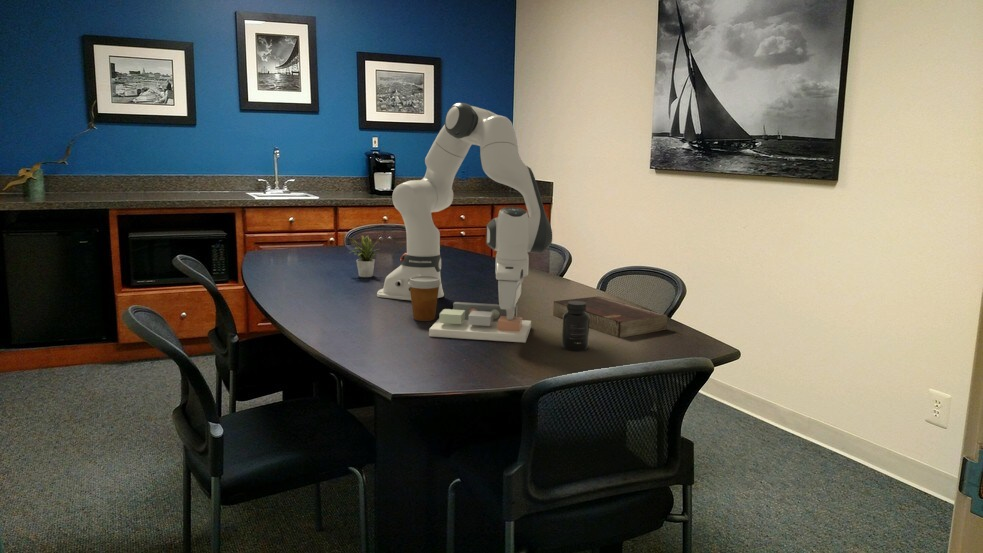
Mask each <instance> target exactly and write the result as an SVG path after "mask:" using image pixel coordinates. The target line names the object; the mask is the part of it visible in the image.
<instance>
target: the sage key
mask: <svg viewBox="0 0 983 553" xmlns="http://www.w3.org/2000/svg"><path fill="white" fill-rule="evenodd" d="M438 316H439V318H438V319H439V323H451V324H461V323H462V322H463V321H464V320H465V310H453V308H452V309H451V308H444V309H442V310H441V311H440V312H439V314H438Z"/></svg>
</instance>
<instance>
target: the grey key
mask: <svg viewBox="0 0 983 553" xmlns="http://www.w3.org/2000/svg"><path fill="white" fill-rule="evenodd" d="M493 316H494V312H487V311H472V312H471V313H470V314H469V316H468V325H483V326H490V325H491V324H492V322H493Z"/></svg>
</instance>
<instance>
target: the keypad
mask: <svg viewBox="0 0 983 553" xmlns="http://www.w3.org/2000/svg"><path fill="white" fill-rule="evenodd" d="M452 309H453V310H465V320H464V321H463V322H462V323H461V324H451V323H439V318H438V319H437V320H436V321H435V322H434V323H433V324H432V326H431V327H429V329H428V336H429V337H434V338H435V337H436V338H446V339H449V338H451V339H465V340H480V341H481V340H482V341H493V342H494V341H495V342H511V343H512V342H514V343H526V342H527V339H528V338H529V337H528V336H529V334H530V330H531V328H532V320H525V319H522V327H521V329H520V331H506V330H497V327H498V320H499V318H500V316H507V313H506V309H501V308H500V305H499V304H497V303H480V302H478V303H477V302H465V301H463V302H461V301H454V302H453V303H452ZM472 311H487V312H494V316H493V322H492V324H491V325H490V326H483V325H468V316H469V314H470V313H471V312H472ZM514 317H518V305H517V304H516V305H515V311H514Z"/></svg>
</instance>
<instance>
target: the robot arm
mask: <svg viewBox="0 0 983 553" xmlns="http://www.w3.org/2000/svg"><path fill="white" fill-rule="evenodd" d="M472 145H473V146H478V147H479V151H480V162H481V163H480V164H481V168H482V170H483V172H484V173H485V175H486V176H487V177H488V178H489V179H491V180H493V181H494V182H496V183H499V184H502V185H505V186H506V187H507V186H508V187H509V188H511V189H512V188H513V189H514V190H516V191H518V192H519V193H520V194H521V195H522V197H523V199H524V200H523V201H524V204H525V207H526V210H525V209H524V208H522V207H521V208H520V207H516V206H506V207H503V208H501V209H499V211H498V216H497V217H495V218H492V219H491V220H490V221H489V222H488V223H487V224H486V233H485V234H486V236H485V239H486V240H485V244H486V245H487V246H488V247H489V248H490V249H491V250H492V251H496V254H495V272H494V273H495V279H496V280H498V281H497V289H498V290H497V291H498V303H499V305H500V308H501V309H506V313H507V317H506V318H507V319H508V320H512V319H513V317H514V311H515V305H517V302H518V301H519V298H520V297H521V294H522V283H523V282H524V277H528V275H529V261H530V260H529V258H530V256H529V253H531V254H532V253H533V254H534V253H535V254H542V253H544V252H545V251H546V250H547V249H548V248H549V247H550V246H551V244H552V242H553V230H552V226H551V224H550V220H549V219H548V216H547V214H546V211H545V208H544V204H543V201H542V197H541V193H540V190H539V186H538V184H537V180H536V177H535V175H534V173H533V170H532V168H531V167H529V166H528V165H526V164H525V163H524V162H523V160H522V158H521V156H520V153H519V146H518V141H517V136H516V132H515V128H514V125H513V122H512V121H511V120H510V119H509V118H508V117H507V116H505V115H504V116H503V115H500V114H496V113H495V112H493V111H491V110H488V109H487V108H486V109H484V108H481V107H478V106H474V105H471V104H469V103H465V102H456V103H454V104H453V105H452V106H450V108H448V110H447V112H446V115H445V117H444V125H443V126H442V127H441V129H440V130H439V132H438V134H437V136H436V137H435V139H434V141H433V142H432V145H431V146H430V149H429V151H428V152H427V154H426V156H425V159H424V164H425V167H426V171H425V174H424V177H423V178H421V179H417V180H414V179H413V180H407V181H404V182H402V183H400V184H398V185H396V186H395V188H394V189H393V192H392V195H391V196H392V199H391V200H392V203H393V206H394V208H395V209H396V210H397V211H398V212H399V213H400V215H401V218H402V220H403V224H404V227H405V232H406V252H404V253H403V254H402V255H401V256H400V258H399V259H400V260H399V261H400V265H399V266H398V267H397V268H395V269H393V271H391V272H390V273H389V274H388V275H386V277H385V279H384V282H383V288H380V289H378V290H377V293H376V296H377V298H384V299H385V298H386V299H393V300H394V299H395V300H405V301H411V293H410V286H409V284H408V282H409V280H410V278H411V277H416V276H432V277H437V278H439V281H440V283H441V284H440V286H439V290H438V298H437V299H439V298H443V297H444V296H445V293H444V290H443V285H442V278H441V269H442V255H441V252H440V250H441V248H440V247H441V245H440V244H441V243H440V242H441V239H440V238H441V233H440V232H441V231H440V229H439V228H438V227H436V225H435V224H434V220H433V216H432V213H438V212H441V211H444V210H445V209H447V208H449V207H450V206H451V205H452V203H453V200H454V190H453V184H454V180H455V177H456V175H457V173H458V172H459V169H460V167H461V165H462V163H463V161H464V160H465V158H466V156H467V154H468V153H469V150H470V148H471V147H472Z"/></svg>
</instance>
